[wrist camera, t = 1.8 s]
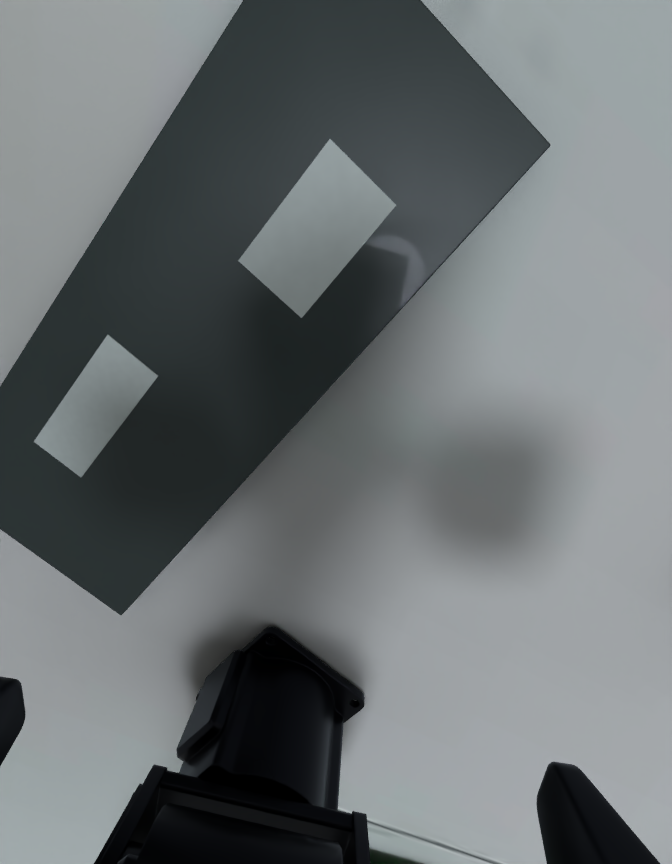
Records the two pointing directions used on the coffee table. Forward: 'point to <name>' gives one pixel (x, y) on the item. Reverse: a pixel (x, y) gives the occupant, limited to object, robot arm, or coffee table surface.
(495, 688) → the coffee table surface
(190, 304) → the slate board
